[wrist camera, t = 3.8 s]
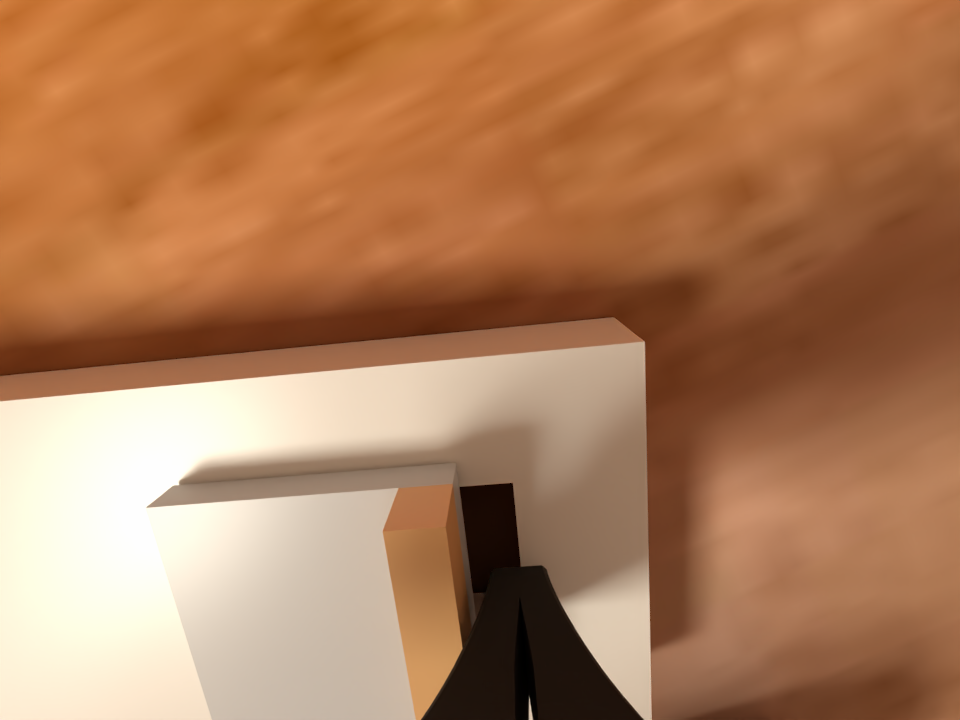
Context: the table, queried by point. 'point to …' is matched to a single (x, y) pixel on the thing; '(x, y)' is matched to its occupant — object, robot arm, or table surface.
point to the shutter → (320, 590)
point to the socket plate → (302, 451)
